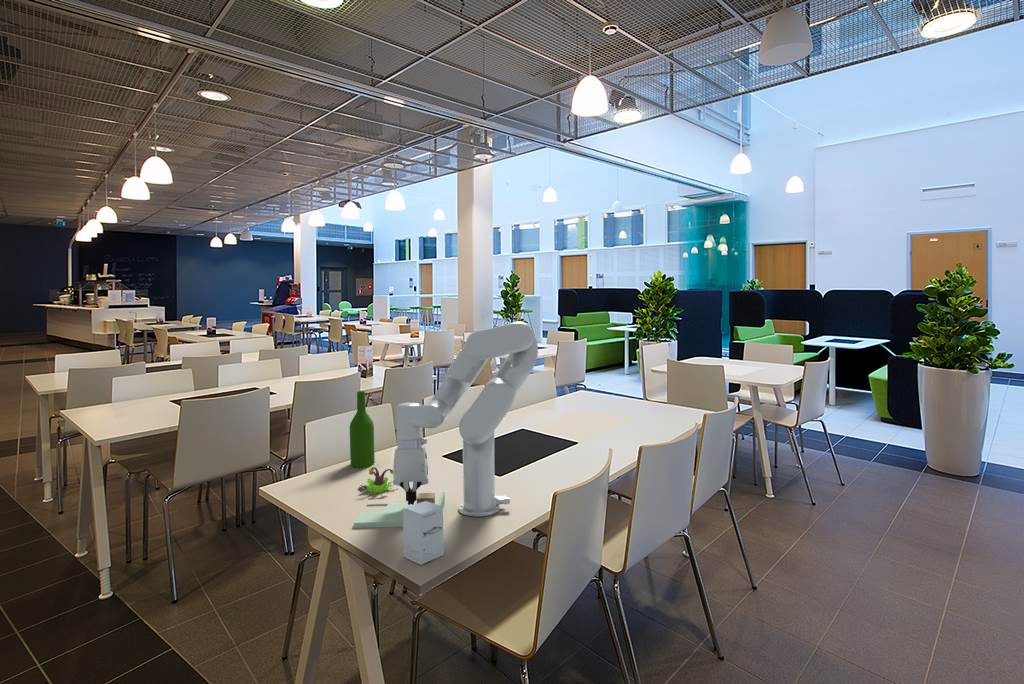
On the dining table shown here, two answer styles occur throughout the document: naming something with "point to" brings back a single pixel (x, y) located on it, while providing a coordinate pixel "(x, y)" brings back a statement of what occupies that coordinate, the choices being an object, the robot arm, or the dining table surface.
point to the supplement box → (423, 532)
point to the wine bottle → (361, 436)
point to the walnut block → (426, 497)
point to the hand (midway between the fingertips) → (411, 503)
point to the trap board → (387, 515)
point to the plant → (377, 483)
